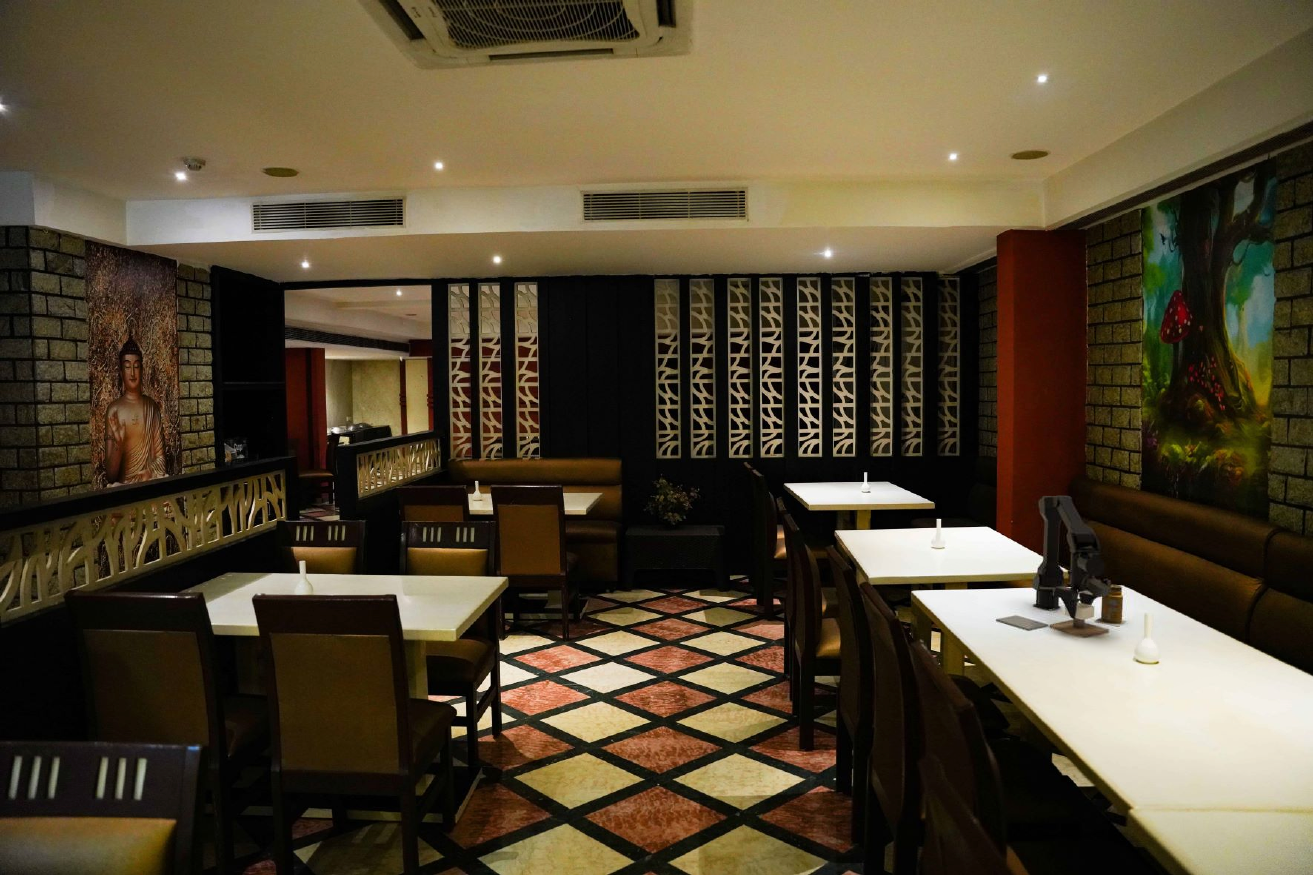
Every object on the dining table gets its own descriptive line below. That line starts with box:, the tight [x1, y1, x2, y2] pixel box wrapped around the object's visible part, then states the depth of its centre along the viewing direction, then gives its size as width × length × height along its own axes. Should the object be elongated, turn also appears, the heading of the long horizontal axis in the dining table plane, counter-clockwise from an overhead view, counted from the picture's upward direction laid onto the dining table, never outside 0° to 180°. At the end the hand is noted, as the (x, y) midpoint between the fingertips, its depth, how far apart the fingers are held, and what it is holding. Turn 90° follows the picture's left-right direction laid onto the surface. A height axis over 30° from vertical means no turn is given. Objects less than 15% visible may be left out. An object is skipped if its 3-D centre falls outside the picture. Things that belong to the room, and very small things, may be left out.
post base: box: [1048, 618, 1110, 639], centre depth 250 cm, size 12×12×7 cm
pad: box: [995, 615, 1050, 632], centre depth 257 cm, size 12×10×1 cm
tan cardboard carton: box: [1064, 601, 1095, 620], centre depth 250 cm, size 6×6×4 cm
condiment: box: [1094, 583, 1127, 627], centre depth 259 cm, size 7×8×12 cm
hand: (1079, 616), depth 250 cm, fingers closed on tan cardboard carton, 6 cm apart
